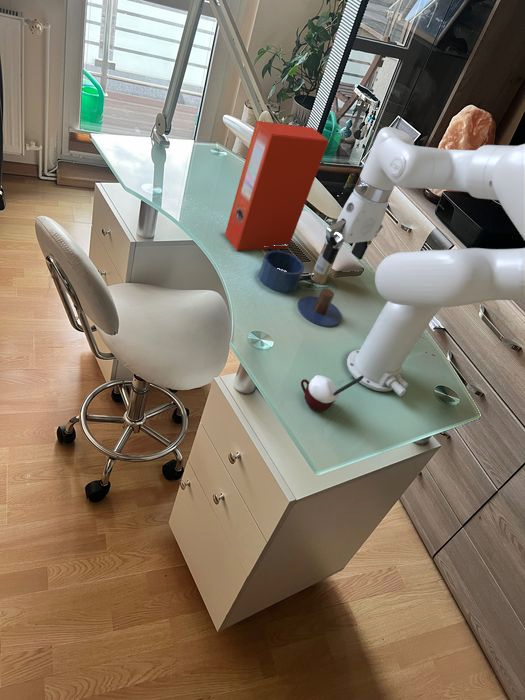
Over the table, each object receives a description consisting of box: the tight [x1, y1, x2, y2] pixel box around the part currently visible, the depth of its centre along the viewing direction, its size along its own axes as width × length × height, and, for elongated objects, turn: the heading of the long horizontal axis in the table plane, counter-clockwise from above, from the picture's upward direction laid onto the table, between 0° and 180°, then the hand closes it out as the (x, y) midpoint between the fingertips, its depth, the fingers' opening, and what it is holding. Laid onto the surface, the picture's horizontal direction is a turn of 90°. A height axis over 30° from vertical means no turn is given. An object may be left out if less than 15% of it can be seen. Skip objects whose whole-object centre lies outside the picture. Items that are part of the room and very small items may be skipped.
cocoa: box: [300, 374, 364, 412], centre depth 97 cm, size 10×6×12 cm, turn 34°
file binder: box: [224, 120, 329, 251], centre depth 133 cm, size 8×17×32 cm, turn 121°
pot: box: [258, 249, 305, 294], centre depth 128 cm, size 10×10×6 cm
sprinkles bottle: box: [310, 236, 344, 285], centre depth 133 cm, size 5×5×13 cm
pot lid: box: [297, 288, 342, 328], centre depth 123 cm, size 11×11×7 cm
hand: (341, 258), depth 117 cm, fingers open, 9 cm apart
